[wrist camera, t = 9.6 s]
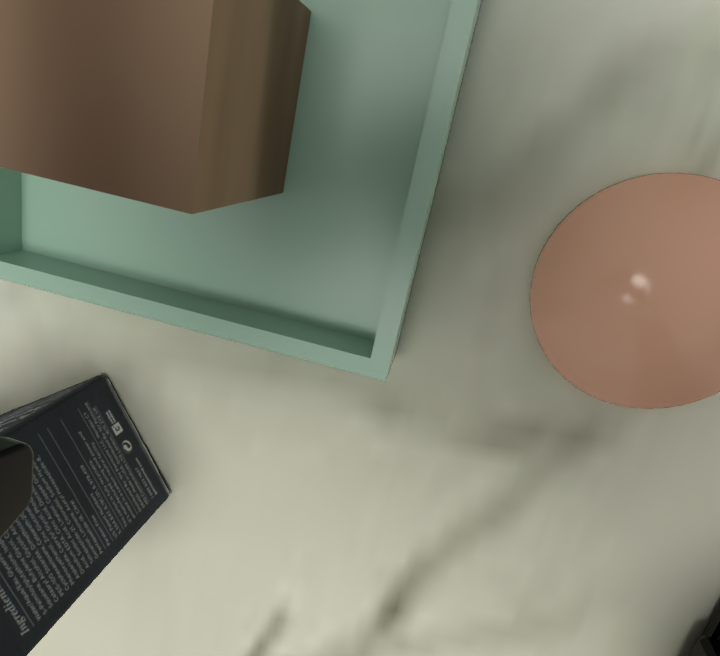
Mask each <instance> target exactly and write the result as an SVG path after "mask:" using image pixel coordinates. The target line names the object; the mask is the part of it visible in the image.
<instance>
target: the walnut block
mask: <svg viewBox="0 0 720 656" xmlns="http://www.w3.org/2000/svg"><path fill="white" fill-rule="evenodd" d="M310 17H311V10H309V9H308V8H307V7H306V6H305V5H304V4H303V3H302V2H300V1H299V0H0V167H2V168H6V169H10V170H14V171H18V172H22V173H26V174H30V175H34V176H38V177H42V178H47V179H51V180H55V181H59V182H63V183H67V184H71V185H75V186H79V187H83V188H87V189H91V190H95V191H99V192H103V193H107V194H111V195H115V196H119V197H124V198H128V199H132V200H136V201H140V202H144V203H148V204H152V205H156V206H160V207H164V208H168V209H172V210H176V211H180V212H184V213H188V214H195V213H199V212H204V211H208V210H212V209H216V208H221V207H225V206H229V205H234V204H238V203H242V202H246V201H251V200H255V199H259V198H263V197H268V196H272V195H276V194H281V193H283V190H284V183H285V177H286V171H287V164H288V158H289V151H290V145H291V139H292V132H293V126H294V120H295V113H296V107H297V100H298V94H299V88H300V81H301V75H302V68H303V62H304V56H305V49H306V43H307V36H308V30H309V24H310Z"/></svg>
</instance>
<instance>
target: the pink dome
mask: <svg viewBox="0 0 720 656" xmlns="http://www.w3.org/2000/svg"><path fill="white" fill-rule="evenodd" d="M530 309H531V317H532V322H533V326H534V329H535V332H536V335H537V337H538V340H539V343H540V345H541V347H542V349H543V351H544V353H545V354H546V356H547V358H548V359H549V361H550V362H551V363H552V365H553V366H554V367H555V369H556V370H557V371H558V372H559V373H560V374H561V375H562V376H563V377H564V378H565V379H566V380H568V381H569V382H570V383H572V384H573V385H574V386H575V387H577V388H578V389H580V390H582V391H583V392H585V393H587V394H589V395H591V396H593V397H595V398H598V399H600V400H602V401H605V402H609V403H612V404H615V405H620V406H625V407H631V408H645V409H653V408H667V407H674V406H680V405H684V404H688V403H691V402H695V401H698V400H701V399H703V398H706V397H708V396H711V395H713V394H715V393H717V392H719V391H720V180H717V179H713V178H709V177H705V176H699V175H690V174H681V173H660V174H653V175H646V176H641V177H637V178H633V179H629V180H625V181H623V182H620V183H618V184H615V185H613V186H610V187H608V188H606V189H604V190H602V191H600V192H599V193H597V194H595V195H593V196H592V197H590V198H589V199H587V200H586V201H584V202H583V203H582V204H580V205H579V206H578V207H577V208H575V209H574V210H573V211H572V212H571V213H570V214H569V215H568V216H566V218H565V219H564V220H563V221H562V222H561V223H560V224H559V225H558V227H557V228H556V229H555V230H554V232H553V233H552V235H551V236H550V238H549V239H548V240H547V242H546V244H545V246H544V248H543V250H542V252H541V253H540V255H539V258H538V261H537V263H536V266H535V269H534V273H533V277H532V282H531V290H530Z"/></svg>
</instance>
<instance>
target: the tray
mask: <svg viewBox="0 0 720 656" xmlns="http://www.w3.org/2000/svg"><path fill="white" fill-rule="evenodd" d="M299 1H300V2H302V3H303V4H304V5H305V6H306V7H307V8H308V9H309V10H311V17H310V24H309V30H308V36H307V43H306V49H305V56H304V62H303V68H302V75H301V81H300V88H299V94H298V100H297V107H296V113H295V120H294V126H293V132H292V139H291V145H290V151H289V158H288V164H287V171H286V177H285V183H284V190H283V193H281V194H276V195H272V196H268V197H263V198H259V199H255V200H251V201H246V202H242V203H238V204H234V205H229V206H225V207H221V208H216V209H212V210H208V211H204V212H199V213H195V214H188V213H184V212H180V211H176V210H172V209H168V208H164V207H160V206H156V205H152V204H148V203H144V202H140V201H136V200H132V199H128V198H124V197H119V196H115V195H111V194H107V193H103V192H99V191H95V190H91V189H87V188H83V187H79V186H75V185H71V184H67V183H63V182H59V181H55V180H51V179H47V178H42V177H38V176H34V175H30V174H26V173H22V172H18V171H14V170H10V169H6V168H2V167H0V279H3V280H7V281H10V282H14V283H18V284H22V285H25V286H29V287H33V288H37V289H40V290H44V291H48V292H52V293H55V294H59V295H63V296H67V297H70V298H74V299H78V300H82V301H85V302H89V303H93V304H97V305H100V306H104V307H108V308H112V309H115V310H119V311H123V312H127V313H130V314H134V315H138V316H142V317H145V318H149V319H153V320H157V321H160V322H164V323H168V324H171V325H175V326H179V327H183V328H186V329H190V330H194V331H198V332H201V333H205V334H209V335H213V336H216V337H220V338H224V339H228V340H231V341H235V342H239V343H243V344H246V345H250V346H254V347H258V348H261V349H265V350H269V351H273V352H276V353H280V354H284V355H288V356H291V357H295V358H299V359H303V360H306V361H310V362H314V363H318V364H321V365H325V366H329V367H333V368H336V369H340V370H344V371H348V372H351V373H355V374H359V375H363V376H366V377H370V378H374V379H378V380H381V381H385V382H386V379H387V377H388V374H389V371H390V368H391V365H392V362H393V360H394V357H395V353H396V348H397V344H398V340H399V336H400V332H401V328H402V324H403V320H404V316H405V312H406V308H407V303H408V299H409V295H410V291H411V287H412V283H413V279H414V275H415V271H416V267H417V262H418V258H419V254H420V250H421V246H422V242H423V238H424V234H425V230H426V226H427V222H428V217H429V213H430V209H431V205H432V201H433V197H434V193H435V189H436V185H437V181H438V177H439V172H440V168H441V164H442V160H443V156H444V152H445V148H446V144H447V140H448V136H449V132H450V127H451V123H452V119H453V115H454V111H455V107H456V103H457V99H458V95H459V91H460V86H461V82H462V78H463V74H464V70H465V66H466V62H467V58H468V54H469V50H470V46H471V41H472V37H473V33H474V29H475V25H476V21H477V17H478V13H479V9H480V5H481V1H482V0H299Z"/></svg>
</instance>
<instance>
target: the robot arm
mask: <svg viewBox="0 0 720 656" xmlns="http://www.w3.org/2000/svg"><path fill="white" fill-rule="evenodd" d="M32 492H33V450H32V448H31V446H29V445H28V444H27V443H24V442H21V441H18V440H15V439H12V438H9V437H0V538H1V537H2V536H3V535H4V534H5V532H6V531H7V530H8V529H9V528H10V527H11V526H12V524H13V523H14V522H15V521H16V520H17V519H18V518H19V516H20V515H21V514H22V513H23V512H24V510H25V509H26V508H27V506H28V504H29V502H30V500H31V497H32ZM689 656H720V603H719V605H718V607H717V609H716V611H715V612H714V614H713V616H712V618H711V620H710V622H709V623H708V625H707V627H706V629H705V631H704V632H703V634H702V636H701V638H700V639H698V640H697V642H696V644H695V646H694V647H693V649H692V651H691V653H690V655H689Z"/></svg>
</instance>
